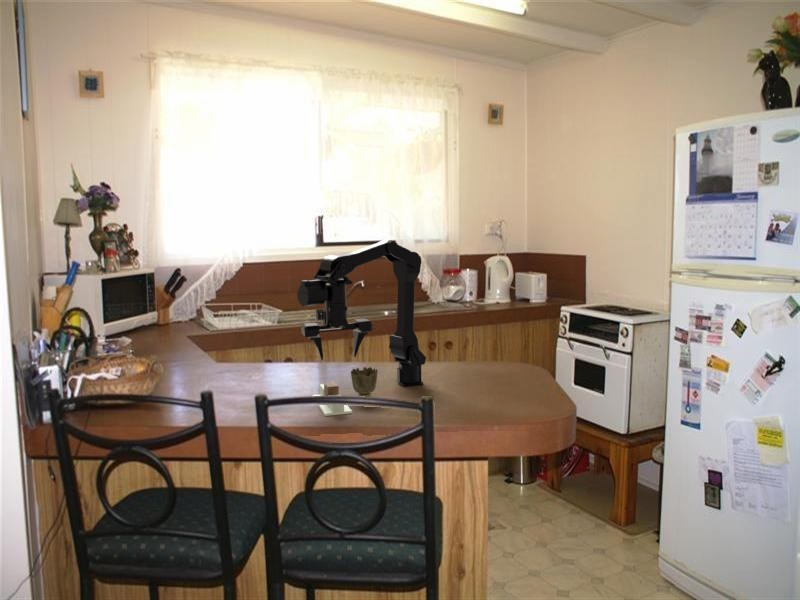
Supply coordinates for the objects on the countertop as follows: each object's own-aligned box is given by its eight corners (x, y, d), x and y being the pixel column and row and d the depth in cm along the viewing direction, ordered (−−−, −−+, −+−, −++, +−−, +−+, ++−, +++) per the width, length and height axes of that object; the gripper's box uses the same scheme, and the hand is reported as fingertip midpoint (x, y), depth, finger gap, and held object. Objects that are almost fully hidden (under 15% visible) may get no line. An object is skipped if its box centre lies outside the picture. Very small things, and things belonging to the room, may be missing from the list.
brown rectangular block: (335, 399, 172) (334, 381, 172) (339, 404, 168) (338, 386, 168) (324, 400, 171) (324, 382, 171) (327, 405, 167) (327, 387, 167)
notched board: (337, 394, 179) (336, 382, 179) (352, 413, 162) (351, 399, 162) (312, 397, 177) (312, 384, 177) (325, 416, 160) (324, 402, 160)
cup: (354, 403, 171) (353, 374, 170) (349, 395, 178) (348, 368, 177) (381, 400, 173) (380, 372, 172) (374, 393, 180) (374, 366, 179)
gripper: (361, 296, 182) (363, 349, 185) (296, 300, 176) (299, 355, 179) (372, 301, 172) (374, 357, 174) (303, 306, 166) (306, 364, 168)
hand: (338, 358), depth 174 cm, fingers open, 9 cm apart
